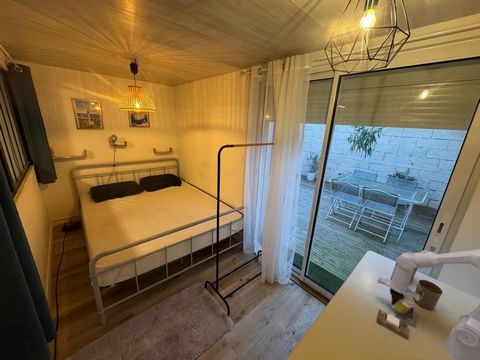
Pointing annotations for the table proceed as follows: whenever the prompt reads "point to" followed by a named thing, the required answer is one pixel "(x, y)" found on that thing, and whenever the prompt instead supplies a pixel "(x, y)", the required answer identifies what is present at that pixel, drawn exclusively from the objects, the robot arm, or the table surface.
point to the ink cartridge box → (412, 274)
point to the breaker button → (392, 320)
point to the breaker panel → (402, 325)
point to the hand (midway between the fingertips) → (392, 302)
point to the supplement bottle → (403, 304)
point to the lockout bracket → (407, 320)
